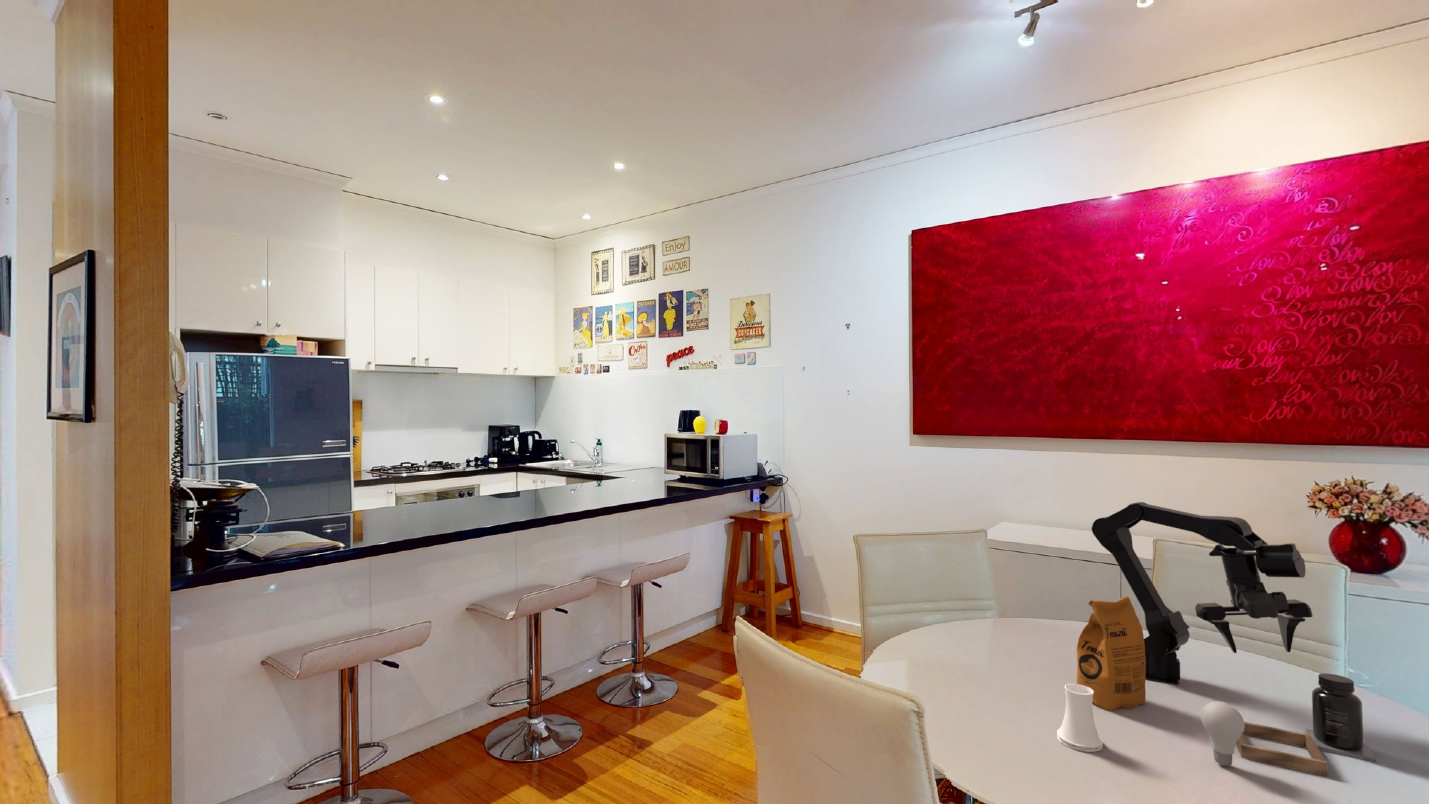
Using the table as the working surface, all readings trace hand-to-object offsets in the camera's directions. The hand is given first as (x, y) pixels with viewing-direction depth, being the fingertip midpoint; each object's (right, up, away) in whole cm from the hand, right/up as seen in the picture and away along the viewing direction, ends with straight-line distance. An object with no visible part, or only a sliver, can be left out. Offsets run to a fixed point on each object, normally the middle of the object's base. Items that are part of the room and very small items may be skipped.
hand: (1261, 652), depth 135 cm
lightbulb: (-26, -12, -22) cm, 36 cm away
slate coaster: (+1, -12, -15) cm, 19 cm away
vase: (-46, -12, -14) cm, 50 cm away
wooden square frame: (-12, -12, -17) cm, 24 cm away
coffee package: (-30, -12, +4) cm, 32 cm away
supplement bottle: (+1, -11, -15) cm, 19 cm away
